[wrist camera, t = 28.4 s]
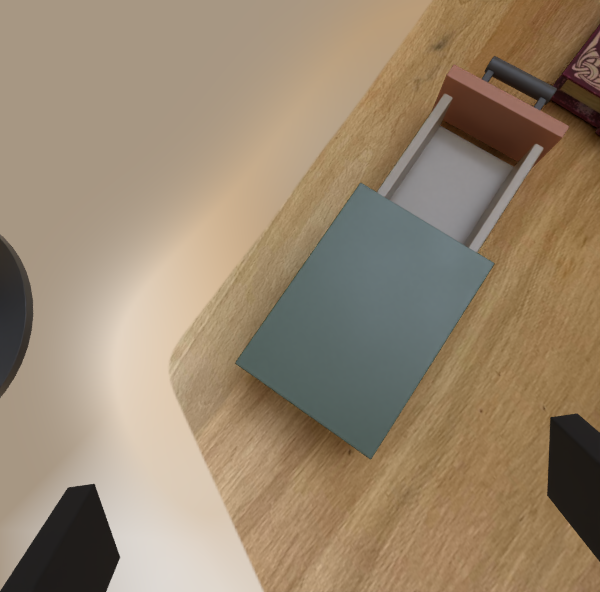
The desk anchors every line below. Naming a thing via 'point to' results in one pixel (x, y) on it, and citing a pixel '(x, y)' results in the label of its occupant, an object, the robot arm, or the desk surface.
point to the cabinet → (365, 318)
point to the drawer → (474, 152)
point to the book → (582, 83)
